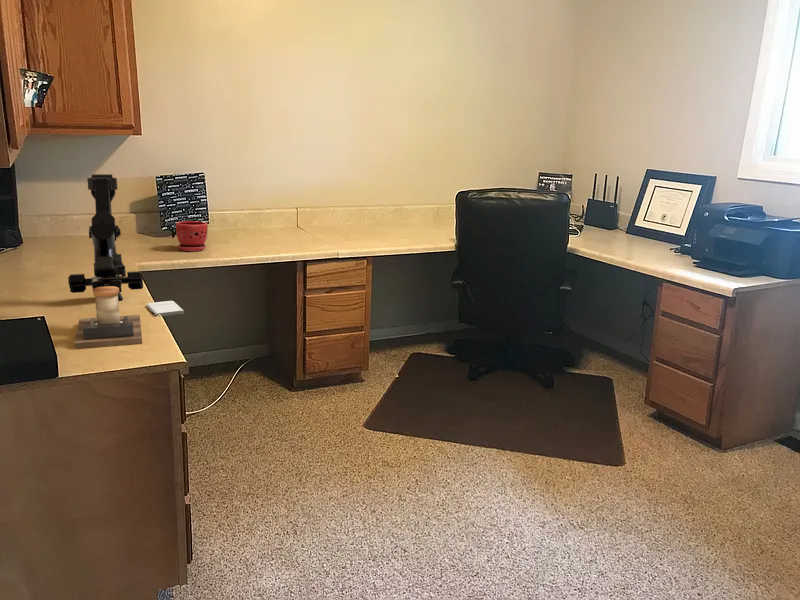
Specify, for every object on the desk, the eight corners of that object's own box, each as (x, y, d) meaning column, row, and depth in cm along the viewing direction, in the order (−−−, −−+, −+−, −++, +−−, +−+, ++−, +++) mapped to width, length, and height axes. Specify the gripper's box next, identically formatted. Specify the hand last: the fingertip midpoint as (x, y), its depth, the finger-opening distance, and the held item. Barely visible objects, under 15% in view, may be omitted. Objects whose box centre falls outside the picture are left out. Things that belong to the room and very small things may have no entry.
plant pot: (207, 252, 296) (206, 224, 293) (175, 252, 293) (174, 224, 290) (209, 246, 308) (208, 220, 305) (178, 246, 306) (177, 220, 302)
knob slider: (95, 326, 186) (92, 286, 183) (123, 324, 189) (120, 285, 186) (94, 334, 180) (91, 293, 177) (123, 332, 183) (120, 291, 180)
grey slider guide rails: (86, 321, 191) (85, 311, 191) (132, 318, 196) (131, 308, 195) (83, 339, 177) (82, 328, 176) (133, 336, 181) (132, 325, 180)
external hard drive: (156, 318, 204) (146, 307, 214) (184, 315, 208) (173, 304, 218) (156, 313, 203) (146, 302, 213) (184, 310, 207) (173, 299, 218)
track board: (79, 323, 194) (79, 318, 194) (140, 319, 200) (139, 314, 199) (75, 348, 174) (74, 343, 174) (142, 343, 180) (142, 337, 180)
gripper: (65, 245, 183) (66, 295, 176) (140, 242, 190) (144, 291, 183) (70, 267, 192) (71, 316, 185) (141, 264, 199) (144, 311, 192)
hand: (108, 308), depth 186 cm, fingers closed, pressing on knob slider
